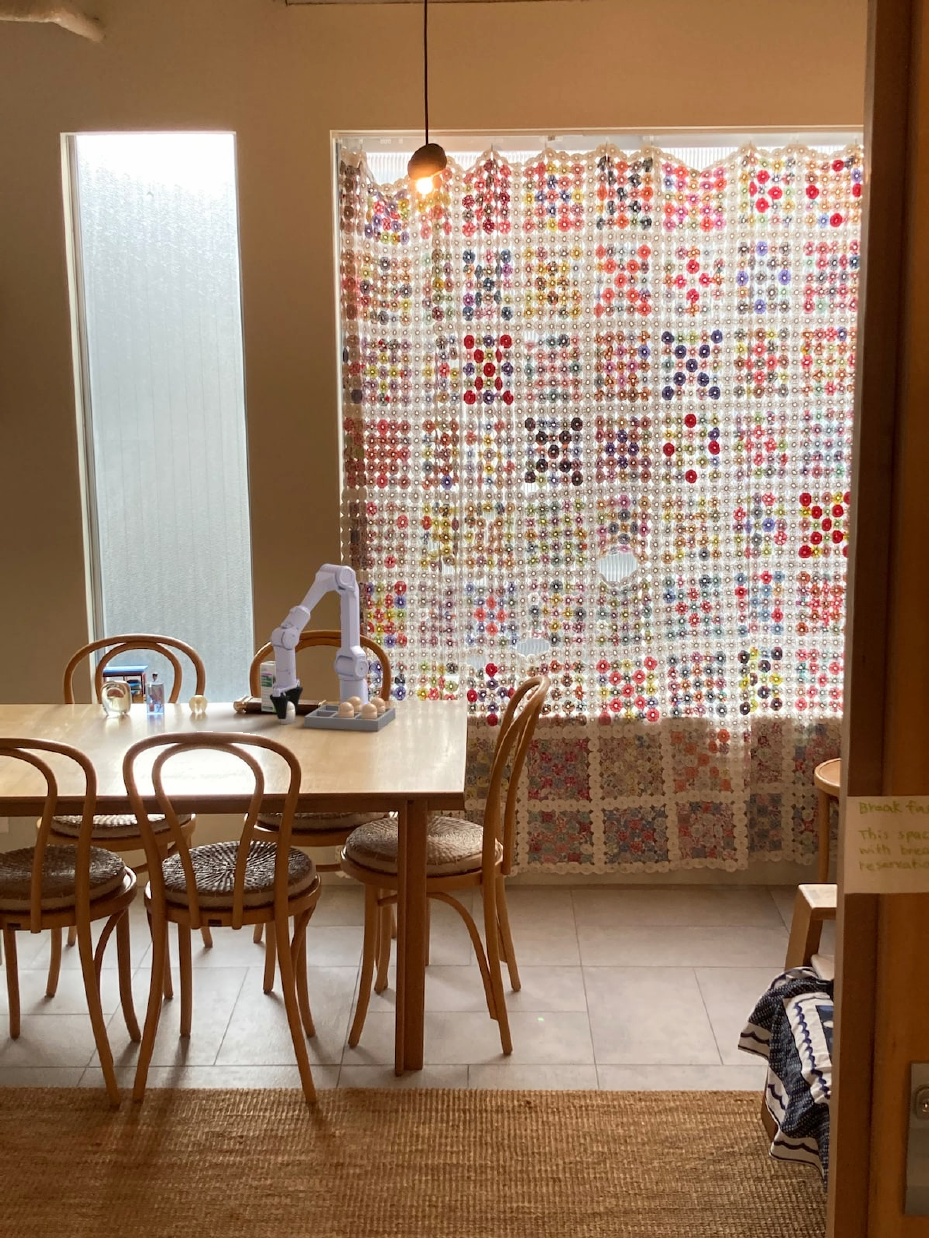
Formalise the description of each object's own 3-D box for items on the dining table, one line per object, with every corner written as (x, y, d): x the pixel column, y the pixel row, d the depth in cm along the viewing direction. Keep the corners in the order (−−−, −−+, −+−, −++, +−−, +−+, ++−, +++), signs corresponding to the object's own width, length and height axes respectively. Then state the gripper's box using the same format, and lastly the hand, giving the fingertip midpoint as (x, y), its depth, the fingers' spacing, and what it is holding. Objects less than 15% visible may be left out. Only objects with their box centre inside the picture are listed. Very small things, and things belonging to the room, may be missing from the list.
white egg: (283, 720, 335) (282, 699, 334) (297, 720, 334) (297, 699, 333) (277, 723, 331) (276, 702, 330) (291, 724, 330) (290, 703, 329)
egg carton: (324, 714, 341) (324, 691, 340) (395, 718, 336) (394, 695, 335) (304, 726, 327) (303, 703, 326) (378, 731, 321) (377, 707, 320)
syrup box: (261, 711, 347) (258, 663, 344) (273, 706, 352) (271, 659, 349) (276, 712, 344) (274, 665, 342) (288, 708, 349) (286, 661, 347)
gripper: (283, 663, 338) (284, 708, 340) (261, 674, 324) (263, 721, 327) (305, 664, 336) (307, 710, 339) (284, 675, 323) (286, 722, 325)
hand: (287, 715), depth 332 cm, fingers open, 7 cm apart
